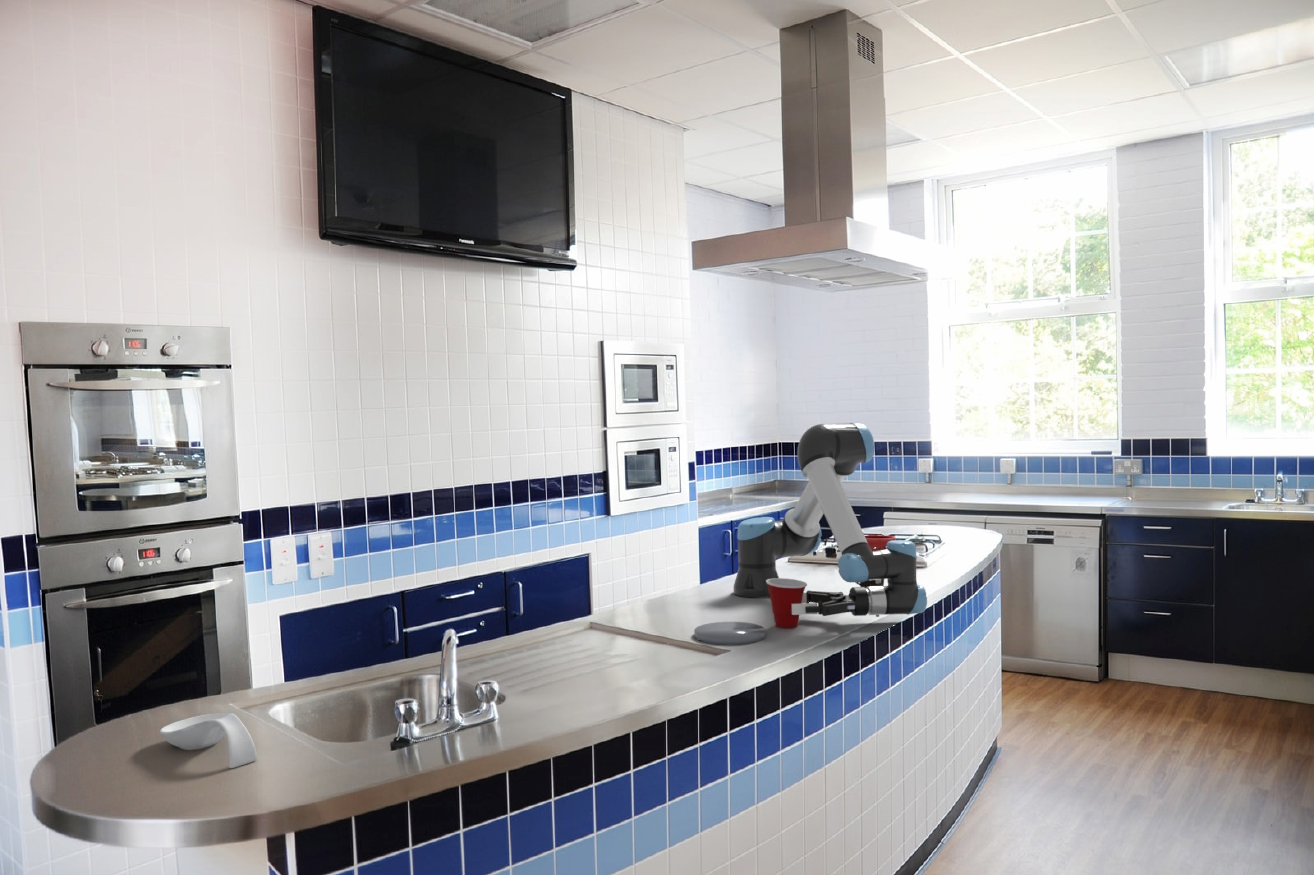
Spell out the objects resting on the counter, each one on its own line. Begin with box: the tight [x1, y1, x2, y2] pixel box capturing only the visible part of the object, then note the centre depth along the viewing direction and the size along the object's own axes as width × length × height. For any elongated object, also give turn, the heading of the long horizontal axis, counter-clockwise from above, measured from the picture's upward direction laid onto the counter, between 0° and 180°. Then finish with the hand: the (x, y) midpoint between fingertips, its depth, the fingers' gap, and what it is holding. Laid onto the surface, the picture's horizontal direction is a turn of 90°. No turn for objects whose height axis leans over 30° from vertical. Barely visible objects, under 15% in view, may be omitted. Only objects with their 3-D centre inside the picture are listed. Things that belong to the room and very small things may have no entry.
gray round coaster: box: [693, 621, 766, 645], centre depth 228 cm, size 18×18×2 cm
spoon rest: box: [159, 712, 258, 769], centre depth 157 cm, size 24×12×7 cm, turn 51°
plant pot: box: [864, 534, 897, 551], centre depth 317 cm, size 13×13×12 cm
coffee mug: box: [854, 579, 885, 588], centre depth 276 cm, size 12×9×10 cm
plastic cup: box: [766, 577, 808, 629], centre depth 237 cm, size 11×11×12 cm
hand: (786, 603), depth 237 cm, fingers open, 13 cm apart
